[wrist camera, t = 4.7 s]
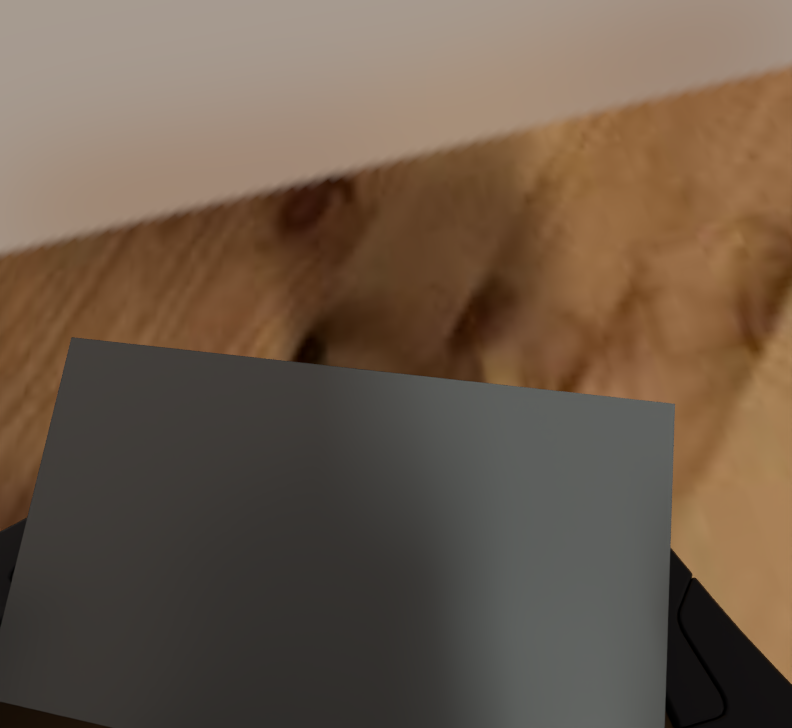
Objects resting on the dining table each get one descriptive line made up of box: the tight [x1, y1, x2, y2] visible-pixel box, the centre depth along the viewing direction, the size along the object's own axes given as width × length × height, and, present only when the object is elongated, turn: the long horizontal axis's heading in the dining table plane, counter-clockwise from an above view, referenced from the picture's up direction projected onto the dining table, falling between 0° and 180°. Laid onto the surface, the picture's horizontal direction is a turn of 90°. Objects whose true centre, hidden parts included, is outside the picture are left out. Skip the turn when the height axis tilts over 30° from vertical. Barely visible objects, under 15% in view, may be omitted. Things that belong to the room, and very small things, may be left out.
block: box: [0, 337, 675, 728], centre depth 10 cm, size 3×6×12 cm, turn 83°
